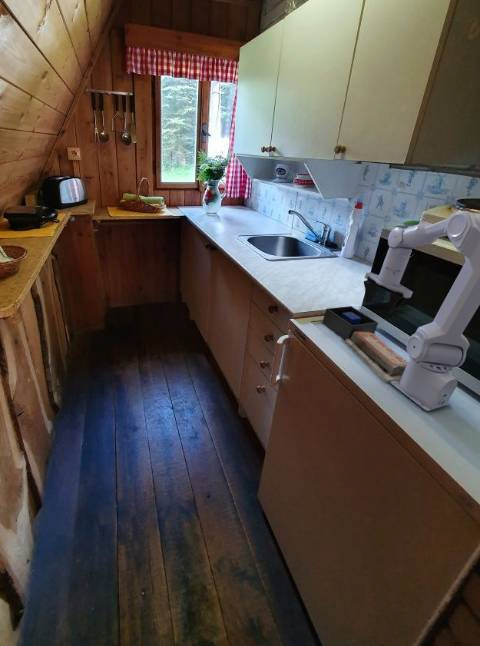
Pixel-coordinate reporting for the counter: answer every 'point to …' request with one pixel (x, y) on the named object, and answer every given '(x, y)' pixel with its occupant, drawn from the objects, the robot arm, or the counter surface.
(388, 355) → the packaged product
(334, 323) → the waste bin
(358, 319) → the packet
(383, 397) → the counter surface
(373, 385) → the counter surface
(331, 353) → the counter surface
